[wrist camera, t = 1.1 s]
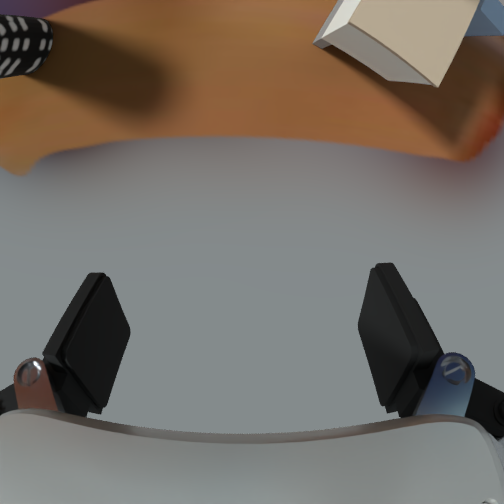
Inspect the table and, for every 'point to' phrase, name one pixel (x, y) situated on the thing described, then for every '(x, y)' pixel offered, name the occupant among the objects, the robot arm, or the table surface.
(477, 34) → the light blue block
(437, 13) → the cabinet
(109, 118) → the table surface
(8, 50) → the spotted tube
